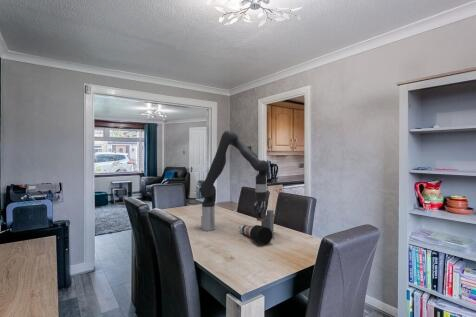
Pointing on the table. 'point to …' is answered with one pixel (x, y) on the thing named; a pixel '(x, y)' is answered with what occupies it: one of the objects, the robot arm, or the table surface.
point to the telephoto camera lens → (257, 233)
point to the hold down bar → (263, 215)
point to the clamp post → (269, 221)
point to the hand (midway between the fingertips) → (261, 216)
